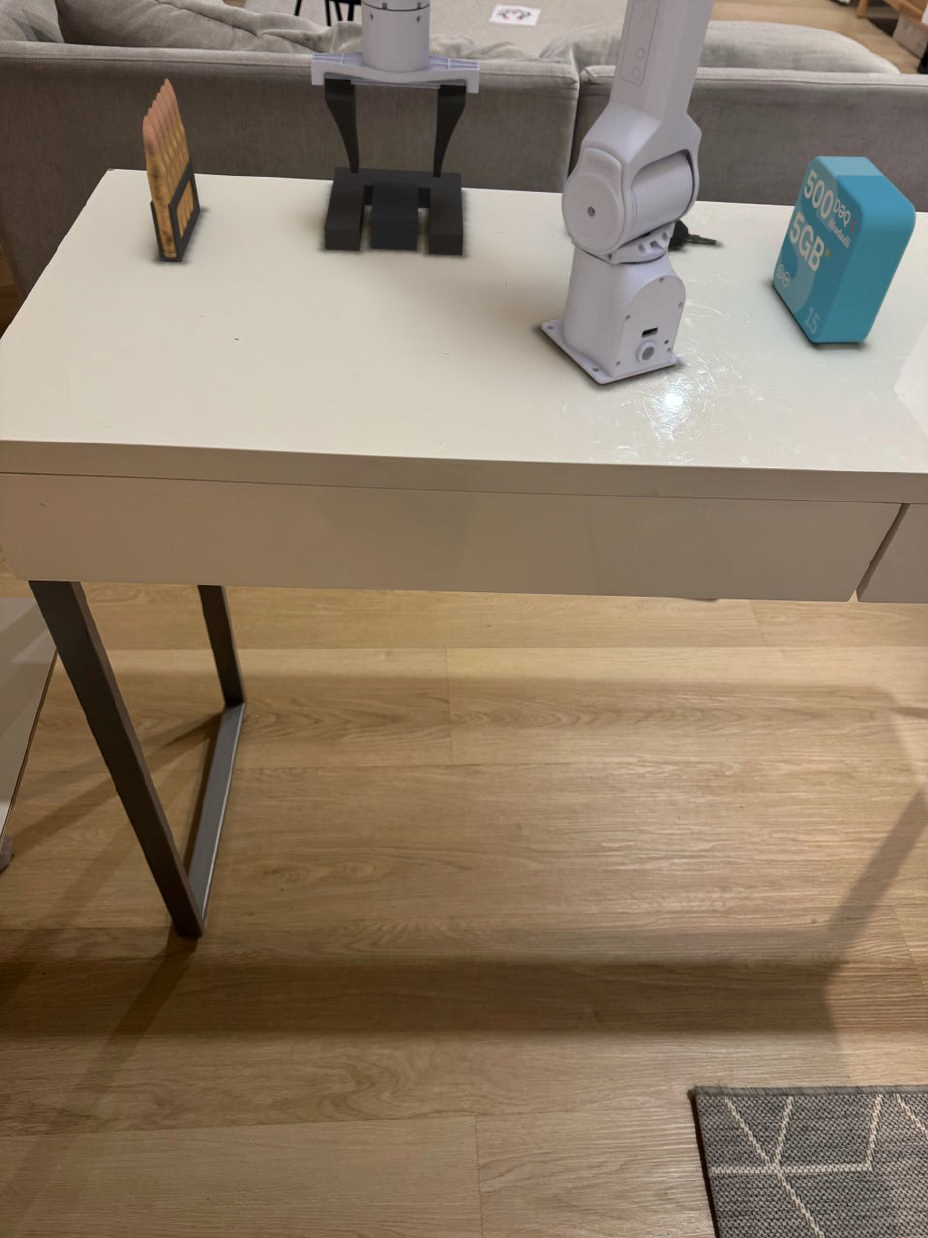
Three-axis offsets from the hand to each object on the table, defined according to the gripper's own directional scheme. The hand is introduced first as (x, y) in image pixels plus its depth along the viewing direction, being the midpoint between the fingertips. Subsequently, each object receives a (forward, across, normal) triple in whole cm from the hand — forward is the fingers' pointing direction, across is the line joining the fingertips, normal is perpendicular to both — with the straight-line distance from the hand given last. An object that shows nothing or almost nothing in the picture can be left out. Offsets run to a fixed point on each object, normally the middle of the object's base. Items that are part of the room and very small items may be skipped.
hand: (396, 170), depth 85 cm
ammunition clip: (+6, +20, +3) cm, 21 cm away
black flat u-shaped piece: (+6, 0, -3) cm, 6 cm away
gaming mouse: (+6, -25, -1) cm, 26 cm away
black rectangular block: (+6, 0, 0) cm, 6 cm away
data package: (+6, -39, +13) cm, 41 cm away
